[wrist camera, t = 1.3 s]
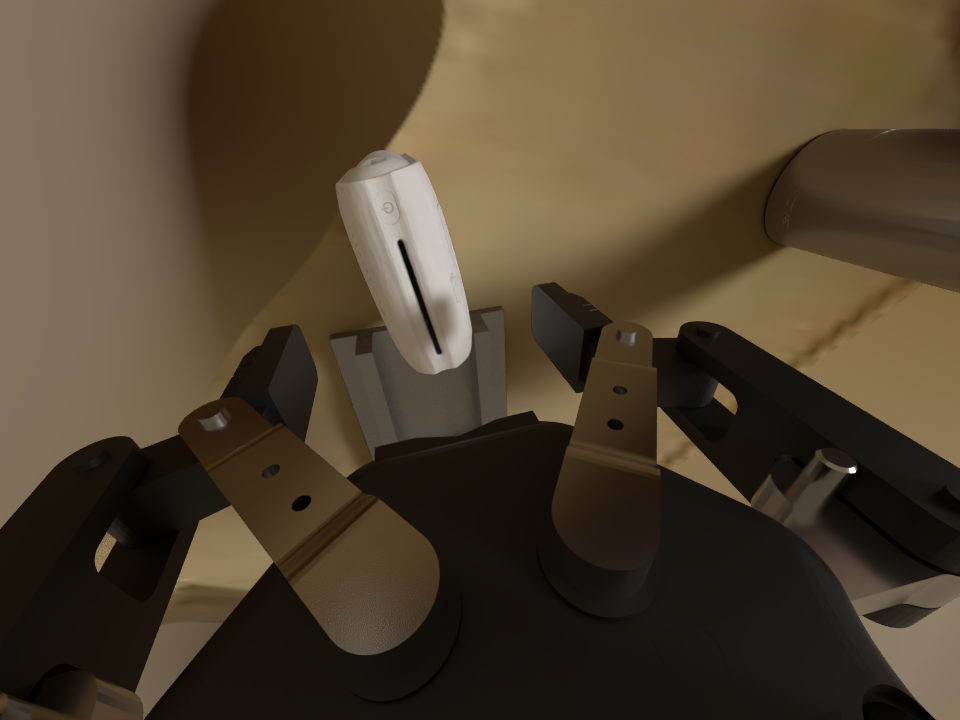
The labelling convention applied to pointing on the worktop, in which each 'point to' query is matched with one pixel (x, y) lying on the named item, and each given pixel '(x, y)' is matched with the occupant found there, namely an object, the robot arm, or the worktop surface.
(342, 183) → the photo printer
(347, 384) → the bracket
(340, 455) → the worktop surface
